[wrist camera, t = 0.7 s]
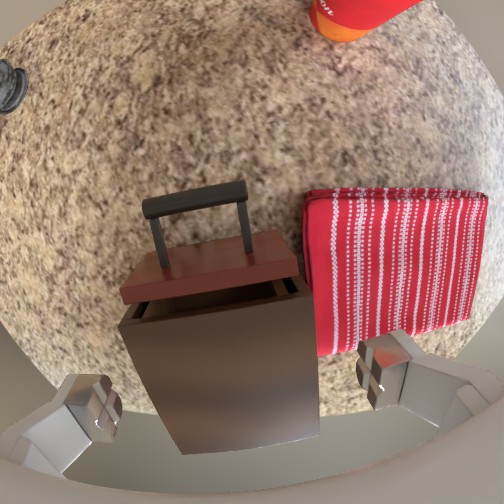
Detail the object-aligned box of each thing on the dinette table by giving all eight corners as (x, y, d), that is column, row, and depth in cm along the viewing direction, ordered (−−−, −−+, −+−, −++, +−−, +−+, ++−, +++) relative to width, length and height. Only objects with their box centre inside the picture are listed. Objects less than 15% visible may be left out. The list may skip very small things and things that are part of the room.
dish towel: (295, 188, 25) (303, 191, 23) (479, 188, 27) (494, 191, 24) (297, 352, 30) (303, 367, 28) (461, 316, 32) (473, 325, 29)
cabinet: (149, 273, 26) (117, 326, 17) (284, 249, 27) (313, 294, 18) (189, 389, 31) (182, 455, 22) (298, 372, 31) (319, 435, 22)
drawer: (134, 198, 23) (97, 214, 16) (267, 172, 24) (286, 176, 16) (185, 372, 29) (177, 427, 21) (292, 355, 29) (310, 408, 22)
